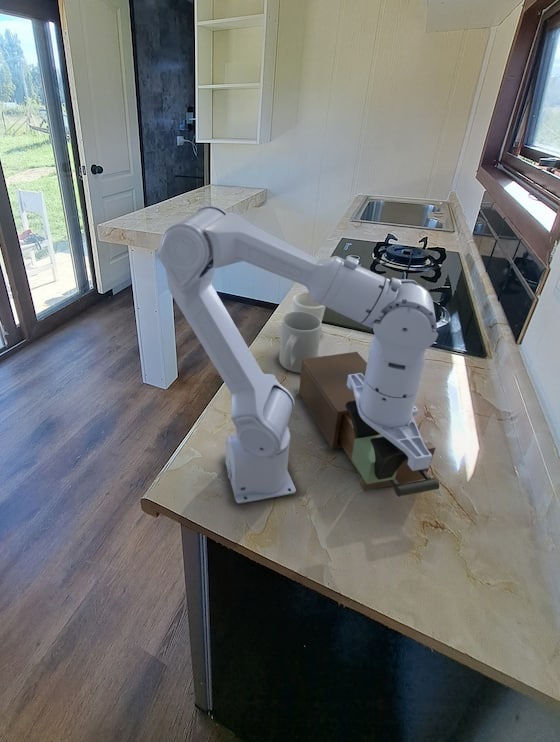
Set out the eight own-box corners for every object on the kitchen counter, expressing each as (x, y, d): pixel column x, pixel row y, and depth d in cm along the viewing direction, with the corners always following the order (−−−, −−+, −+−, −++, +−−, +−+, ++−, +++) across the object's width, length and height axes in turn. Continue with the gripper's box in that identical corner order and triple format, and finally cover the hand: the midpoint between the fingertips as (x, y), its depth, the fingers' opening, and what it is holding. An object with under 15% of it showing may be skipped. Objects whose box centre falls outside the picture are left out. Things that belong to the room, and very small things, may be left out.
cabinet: (393, 439, 68) (403, 401, 64) (332, 449, 66) (338, 412, 62) (350, 385, 81) (356, 351, 77) (298, 392, 79) (302, 358, 75)
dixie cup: (288, 339, 96) (291, 305, 92) (291, 323, 104) (294, 290, 99) (323, 344, 94) (327, 309, 90) (323, 327, 101) (328, 293, 97)
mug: (287, 346, 94) (290, 307, 89) (321, 357, 89) (327, 316, 85) (267, 374, 85) (269, 332, 80) (304, 387, 80) (309, 343, 76)
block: (366, 484, 50) (371, 463, 48) (351, 459, 54) (354, 438, 52) (395, 479, 51) (400, 457, 49) (377, 454, 54) (382, 433, 52)
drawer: (446, 504, 56) (458, 472, 53) (380, 518, 54) (388, 485, 51) (375, 416, 71) (382, 387, 68) (323, 424, 70) (327, 395, 67)
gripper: (468, 420, 40) (439, 506, 45) (385, 343, 53) (371, 418, 58) (405, 431, 39) (384, 517, 45) (337, 350, 52) (328, 425, 58)
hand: (374, 461), depth 51 cm, fingers closed on block, 4 cm apart
